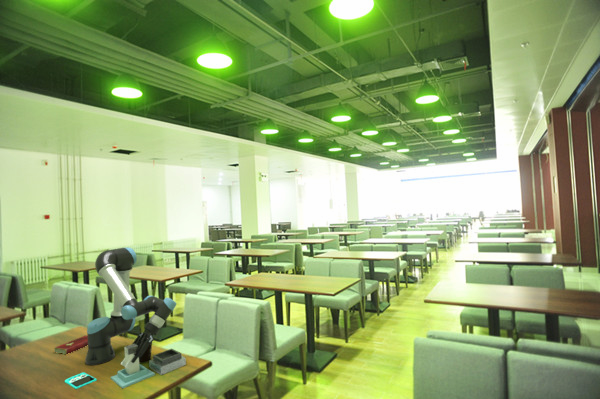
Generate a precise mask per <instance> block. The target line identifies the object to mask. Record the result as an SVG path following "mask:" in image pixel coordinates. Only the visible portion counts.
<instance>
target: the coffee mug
mask: <svg viewBox="0 0 600 399" xmlns="http://www.w3.org/2000/svg"><path fill="white" fill-rule="evenodd" d="M152 345H153V341H152V342H151V344H150V345H149V347H148V348H147V349H146V351H145V352H144V354H143V355H142V357H139V364H143V363H149V360H152V350H153V349H152V347H153V346H152ZM138 348H139V347H138Z"/></svg>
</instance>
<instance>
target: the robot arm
mask: <svg viewBox="0 0 600 399" xmlns="http://www.w3.org/2000/svg"><path fill="white" fill-rule="evenodd" d="M137 258H138V256H137V254H136V251H135V250H134V249H133V248H131V247H129V246H128V247H119V248H114V249H107V250H104V251H102V252H100V253H99V254H98V256H97V257H96V259H95V264H94V265H95V266H94V267H95V271H96V273H97V275H98V276H100V277H102V279H103V280H104V281H105V283H106V284H107V286H108V287H109V289H110V290H111V292H112V294H113V309H112V311H111V312H110V317H109V316H102V317H98V318H95V319H93V320H91V321H90V322H89V323H88V324H87V328H86V333H87V336H88V346H87V348H88V350H87V351H86V356H85V360H84V361H85V364H86V365H87V366H97V365H101V364H104V363H108V362H110V361H111V360H113V359H114V358H115V357H116V353H115V352H116V351H115V350H114V348H113V345H112V341H111V340H112V339H111V338H114V337H117V336H120V335H122V334H126V333H128V332H130V331H132V330H133V329H134V327H135V326H136V318H138V317H141V316H144V315H146V314H149V313H152V312H153V315H152V316H151V317H150V319H149V321H148V322H147V323H146V324H145V326H144V328H143V329H144V331H143V332H141V331H140V332H139V333H138V335H137V337H136V338H135V339H134V341H133V342H132V343H131V344H136V345H138V347H139V348H138V349H137V351H136V353H134V355H133V356H132V357H131V359H130V360H129V362H128V363H127V364H126V366H125V357H124V358H123V359H122V361H121V362H120V365H121V366H123V367H124V369H125V368H127V369H129V370H130V368H131V367H132V365H133V364H134V362H135V361H136V359H137V358H138V357H142V355H143V354H144V352H145V351H146V349H147V348H148V347H149V345H150V344H151V342H152V343H153V341H154V338H153V336H154V335H155V336H156V335H157V334H158V333H159V331H160V330H161V328H162V327H163V325H165V324H164V323H165V322H166V321H167V320H168V318H169V317H170V315H171V313H173V311H174V310H175V308H176V307H177V302H176V301H175V300H173V299H172V298H171V297H165V298H164V299H161V298H159V297H158V296H154V295H147V296H146V297H145V298H144V299H143V300H141V301H138V300H137V299H136V297H135V296H134V295H133V293H132V291H131V290H130V272H131V271H132V270H133V266H134V265H135V264H136V263H137V261H138V259H137Z"/></svg>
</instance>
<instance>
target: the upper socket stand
mask: <svg viewBox="0 0 600 399" xmlns="http://www.w3.org/2000/svg"><path fill="white" fill-rule="evenodd" d="M148 363H149V364H148V365H149V366H148V369H150V370H151V371H153V372H154V373H157V374H159V375H161V376H162V375H165V374H167V373H170V372H173V371H175V370H177V369H179V368H182V367H184V366H187V361H186V356H183V355H182V352H180V351H178V350H176V349H173V348H169V349H166V350H164V351H161V352H159V353H156V354H153V355H152V358H151V360H149V361H148Z"/></svg>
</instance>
